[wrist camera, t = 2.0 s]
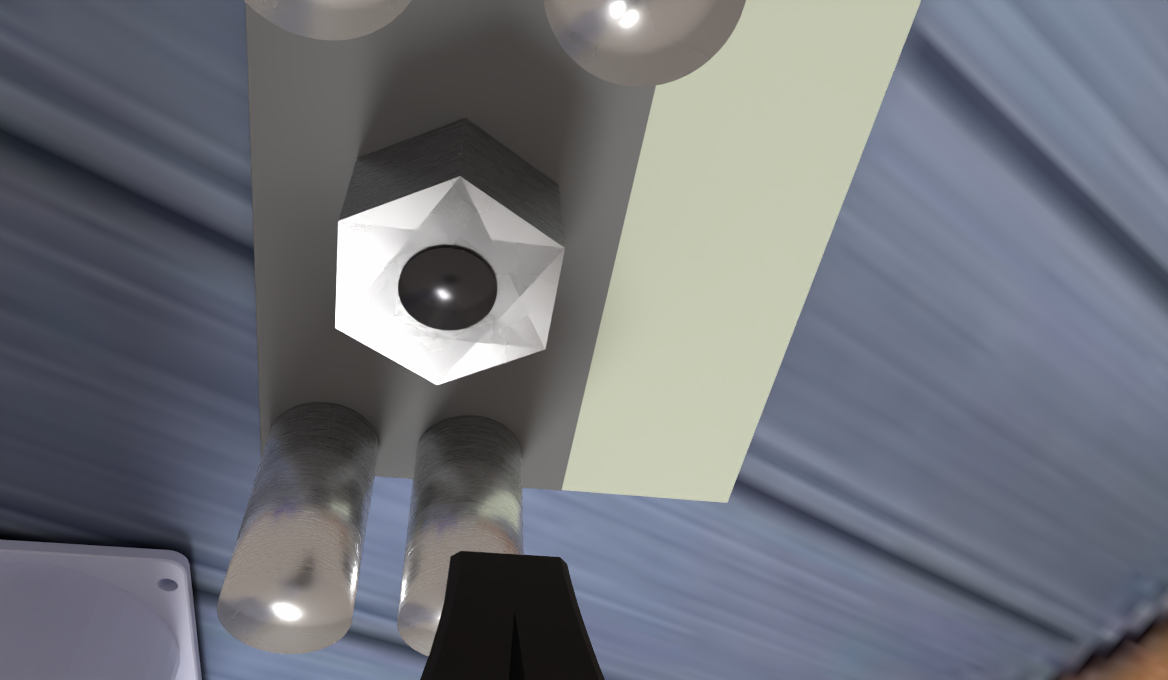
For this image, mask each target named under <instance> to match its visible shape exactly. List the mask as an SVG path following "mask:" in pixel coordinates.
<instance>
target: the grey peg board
mask: <svg viewBox="0 0 1168 680" xmlns="http://www.w3.org/2000/svg"><path fill="white" fill-rule="evenodd" d="M244 1H245V2H246V3H247V4H248V5H249V6H250V7H251V8H252V9H253V10H255V11H256V12H257V13H258V14H260V15H261V16H262V17H264V18H265V19H267V20H268V21H270V22H272V23H273V24H275V25H276V26H279V27H281V28H283V29H285V30H287V31H289V32H292V33H295V34H298V35H301V36H304V37H309V38H313V39H319V40H347V39H353V38H358V37H361V36H364V35H367V34H370V33H372V32H375V31H377V30H379V29H381V28H383V27H384V26H386V25H387V24H388V23H390V22H391V21H393V20H394V19H395V18H396V17H397V16H398V15H399V14H401V13H402V12H403V10H404V9H405V8H406V7H407V6H408V4H409V3H410V2H411V0H244ZM745 2H746V0H544V5H545V11H546V14H547V18H548V21H549V24H550V26H551V28H552V31H553V33H554V35H555V37H556V39H557V40H558V42H559V43H560V45H561V47H562V48H563V49H564V50H565V52H566V53H567V54H568V55H569V56H570V57H571V58H572V59H573V60H574V61H575V62H576V63H577V64H578V65H579V66H581V67H582V68H583V69H585V70H586V71H588V72H589V73H591V74H593V75H595V76H596V77H598V78H600V79H603V80H605V81H608V82H611V83H614V84H619V85H624V86H633V87H648V86H656V85H661V84H665V83H669V82H672V81H675V80H678V79H680V78H682V77H684V76H687V75H689V74H690V73H692V72H694V71H695V70H697V69H699V68H700V67H701V66H703V65H704V64H705V63H706V62H708V61H709V60H710V59H711V58H712V57H713V56H714V55H715V54H716V53H717V52H718V51H719V50H720V49H721V48H722V47H723V45H724V44H725V43H726V42H727V40H728V39H729V37H730V36H731V34H732V32H733V31H734V29H735V27H736V25H737V23H738V21H739V19H740V17H741V14H742V11H743V8H744V5H745ZM378 452H379V439H378V436H377V433H376V431H375V429H374V427H373V426H372V425H371V423H370V422H369V421H368V420H367V419H366V418H365V417H363V416H362V415H361V414H359V413H358V412H356V411H354V410H352V409H350V408H348V407H345V406H342V405H339V404H335V403H329V402H309V403H303V404H299V405H296V406H294V407H291V408H289V409H287V410H286V411H284V412H283V413H282V414H280V415H279V416H278V417H277V418H276V420H275V421H274V422H273V424H272V426H271V429H270V432H269V436H268V439H267V442H266V445H265V449H264V452H263V455H262V459H261V462H260V465H259V468H258V472H257V475H256V478H255V482H254V485H253V488H252V492H251V495H250V498H249V501H248V505H247V508H246V511H245V515H244V518H243V521H242V524H241V528H240V531H239V534H238V538H237V541H236V544H235V548H234V551H233V554H232V557H231V561H230V564H229V567H228V571H227V574H226V577H225V580H224V584H223V587H222V590H221V594H220V597H219V600H218V604H217V614H218V617H219V620H220V622H221V624H222V625H223V627H224V628H225V629H226V630H227V631H228V632H229V633H230V634H231V635H232V636H233V637H235V638H236V639H238V640H239V641H241V642H243V643H245V644H247V645H249V646H252V647H254V648H257V649H260V650H264V651H268V652H274V653H283V654H298V653H307V652H313V651H317V650H320V649H323V648H326V647H328V646H330V645H332V644H334V643H335V642H337V641H338V640H340V639H341V638H342V637H343V636H344V635H345V634H346V633H347V631H348V629H349V628H350V625H351V621H352V615H353V609H354V602H355V596H356V590H357V584H358V577H359V571H360V565H361V558H362V552H363V546H364V540H365V533H366V527H367V521H368V514H369V508H370V502H371V496H372V489H373V483H374V477H375V470H376V464H377V458H378ZM460 551H473V552H488V553H503V554H518V555H524V551H523V503H522V456H521V447H520V443H519V441H518V439H517V438H516V436H515V435H514V433H513V432H512V431H511V430H510V429H508V428H507V427H506V426H504V425H503V424H501V423H499V422H497V421H495V420H493V419H490V418H486V417H482V416H476V415H461V416H455V417H450V418H447V419H444V420H442V421H439V422H438V423H436V424H434V425H433V426H431V427H430V428H429V429H428V430H426V431H425V433H424V434H423V435H422V436H421V438H420V440H419V442H418V445H417V449H416V458H415V467H414V476H413V484H412V493H411V502H410V511H409V520H408V529H407V538H406V547H405V556H404V565H403V574H402V583H401V592H400V601H399V610H398V619H397V626H398V631H399V633H400V635H401V637H402V638H403V640H404V641H405V642H406V643H407V644H408V645H409V646H410V647H412V648H413V649H414V650H416V651H418V652H420V653H422V654H424V655H426V656H429V654H430V651H431V647H432V644H433V641H434V637H435V634H436V631H437V627H438V624H439V620H440V616H441V612H442V608H443V604H444V599H445V592H446V585H447V578H448V571H449V564H450V557H451V556H452V555H454V554H456V553H458V552H460Z"/></svg>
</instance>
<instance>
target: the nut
mask: <svg viewBox="0 0 1168 680" xmlns="http://www.w3.org/2000/svg"><path fill="white" fill-rule="evenodd" d="M564 251H565V243H564V233H563V223H562V214H561V204H560V194H559V185H558V184H557V183H556V182H554V181H553V180H551V179H550V178H549V177H547V176H546V175H544V174H543V173H542V172H540V171H539V170H538V169H536V168H535V167H533V166H532V165H531V164H529V163H528V162H527V161H525V160H524V159H522V158H521V157H520V156H518V155H517V154H515V153H514V152H513V151H511V150H510V149H509V148H507V147H506V146H504V145H503V144H502V143H500V142H499V141H498V140H496V139H495V138H493V137H492V136H491V135H489V134H488V133H486V132H485V131H484V130H482V129H481V128H480V127H478V126H477V125H475V124H474V123H473V122H471V121H470V120H469V119H467V118H466V117H465V118H462V119H459V120H457V121H454V122H452V123H449V124H446V125H444V126H441V127H438V128H436V129H433V130H430V131H428V132H425V133H422V134H420V135H417V136H414V137H412V138H409V139H406V140H404V141H401V142H398V143H396V144H393V145H390V146H388V147H385V148H382V149H380V150H377V151H374V152H372V153H369V154H366V155H364V156H361V157H358V158H357V159H356V162H355V166H354V169H353V173H352V176H351V179H350V183H349V186H348V190H347V193H346V196H345V200H344V203H343V206H342V210H341V213H340V217H339V220H338V248H337V285H336V323H335V328H336V329H338V330H340V331H342V332H344V333H345V334H347V335H349V336H351V337H352V338H354V339H356V340H358V341H360V342H361V343H363V344H365V345H367V346H368V347H370V348H372V349H374V350H376V351H377V352H379V353H381V354H383V355H384V356H386V357H388V358H390V359H392V360H393V361H395V362H397V363H399V364H400V365H402V366H404V367H406V368H408V369H409V370H411V371H413V372H415V373H416V374H418V375H420V376H422V377H424V378H425V379H427V380H429V381H431V382H432V383H434V384H436V385H439V384H442V383H445V382H448V381H451V380H454V379H457V378H460V377H463V376H466V375H469V374H472V373H475V372H478V371H481V370H484V369H487V368H490V367H493V366H497V365H500V364H503V363H506V362H509V361H512V360H515V359H518V358H521V357H524V356H527V355H530V354H533V353H536V352H539V351H542V350H545V349H546V344H547V338H548V333H549V328H550V323H551V318H552V313H553V308H554V302H555V297H556V292H557V287H558V282H559V277H560V272H561V266H562V261H563V256H564Z"/></svg>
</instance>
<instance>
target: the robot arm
mask: <svg viewBox="0 0 1168 680" xmlns="http://www.w3.org/2000/svg"><path fill="white" fill-rule="evenodd" d="M0 680H202V677H201V668H200V658H199V649H198V640H197V630H196V621H195V611H194V602H193V593H192V583H191V574H190V565H189V562H188V559H187V558H186V557H185V556H184V555H182V554H181V553H179V552H176V551H172V550H161V549H145V548H129V547H113V546H97V545H81V544H65V543H49V542H33V541H17V540H1V539H0ZM420 680H605V679H604V677H603V674H602V672H601V669H600V667H599V664H598V661H597V659H596V656H595V653H594V650H593V648H592V645H591V642H590V639H589V637H588V634H587V631H586V628H585V625H584V622H583V619H582V616H581V613H580V610H579V606H578V603H577V600H576V597H575V593H574V589H573V586H572V582H571V579H570V575H569V571H568V566H567V564H566V563H565V562H564V561H563V560H562V559H561V558H560V557H549V556H534V555H518V554H503V553H488V552H473V551H460V552H458V553H456V554H454V555H452V556H451V557H450V564H449V571H448V578H447V585H446V592H445V599H444V604H443V608H442V612H441V616H440V620H439V624H438V627H437V631H436V634H435V637H434V641H433V644H432V647H431V651H430V654H429V657H428V660H427V663H426V665H425V668H424V671H423V674H422V676H421V679H420Z"/></svg>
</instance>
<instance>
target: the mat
mask: <svg viewBox="0 0 1168 680" xmlns="http://www.w3.org/2000/svg"><path fill="white" fill-rule="evenodd" d="M920 2H921V0H746V2H745V5H744V8H743V11H742V14H741V17H740V19H739V21H738V23H737V25H736V27H735V29H734V31H733V32H732V34H731V36H730V37H729V39H728V40H727V42H726V43H725V44H724V45H723V47H722V48H721V49H720V50H719V51H718V52H717V53H716V54H715V55H714V56H713V57H712V58H711V59H710V60H709V61H708V62H706V63H705V64H704V65H703V66H701V67H700V68H699V69H697V70H695V71H694V72H692V73H690V74H689V75H687V76H684V77H682V78H680V79H678V80H675V81H672V82H669V83H665V84H661V85H656V86H648V87H633V86H624V85H619V84H614V83H611V82H608V81H605V80H603V79H600V78H598V77H596V76H595V75H593V74H591V73H589V72H588V71H586V70H585V69H583V68H582V67H581V66H579V65H578V64H577V63H576V62H575V61H574V60H573V59H572V58H571V57H570V56H569V55H568V54H567V53H566V52H565V50H564V49H563V48H562V47H561V45H560V43H559V42H558V40H557V39H556V37H555V35H554V33H553V31H552V28H551V26H550V24H549V21H548V18H547V14H546V11H545V5H544V0H411V2H410V3H409V4H408V6H407V7H406V8H405V9H404V10H403V12H402V13H401V14H399V15H398V16H397V17H396V18H395V19H394V20H393V21H391V22H390V23H388V24H387V25H386V26H384V27H383V28H381V29H379V30H377V31H375V32H372V33H370V34H367V35H364V36H361V37H358V38H353V39H347V40H319V39H313V38H309V37H304V36H301V35H298V34H295V33H292V32H289V31H287V30H285V29H283V28H281V27H279V26H276V25H275V24H273V23H272V22H270V21H268V20H267V19H265V18H264V17H262V16H261V15H260V14H258V13H257V12H256V11H255V10H253V9H252V8H251V7H250V6H249V5H248V4H247V3H246V2H245V3H246V31H247V60H248V89H249V118H250V147H251V176H252V205H253V234H254V262H255V291H256V320H257V349H258V378H259V407H260V436H261V459H262V455H263V452H264V449H265V445H266V442H267V439H268V436H269V432H270V429H271V426H272V424H273V422H274V421H275V420H276V418H277V417H278V416H279V415H280V414H282V413H283V412H284V411H286V410H287V409H289V408H291V407H294V406H296V405H299V404H303V403H309V402H329V403H335V404H339V405H342V406H345V407H348V408H350V409H352V410H354V411H356V412H358V413H359V414H361V415H362V416H363V417H365V418H366V419H367V420H368V421H369V422H370V423H371V425H372V426H373V427H374V429H375V431H376V433H377V436H378V439H379V452H378V458H377V464H376V470H375V476H382V477H395V478H407V479H413V476H414V467H415V458H416V449H417V445H418V442H419V440H420V438H421V436H422V435H423V434H424V433H425V431H426V430H428V429H429V428H430V427H431V426H433V425H434V424H436V423H438V422H439V421H442V420H444V419H447V418H450V417H455V416H461V415H476V416H482V417H486V418H490V419H493V420H495V421H497V422H499V423H501V424H503V425H504V426H506V427H507V428H508V429H510V430H511V431H512V432H513V433H514V435H515V436H516V438H517V439H518V441H519V443H520V447H521V456H522V487H524V488H537V489H550V490H570V491H583V492H596V493H609V494H622V495H634V496H647V497H660V498H673V499H686V500H699V501H712V502H725V503H727V502H728V499H729V497H730V494H731V491H732V489H733V486H734V484H735V481H736V479H737V476H738V473H739V471H740V468H741V466H742V463H743V460H744V458H745V455H746V453H747V450H748V447H749V445H750V442H751V440H752V437H753V434H754V432H755V429H756V427H757V424H758V422H759V419H760V416H761V414H762V411H763V409H764V406H765V403H766V401H767V398H768V396H769V393H770V390H771V388H772V385H773V383H774V380H775V377H776V375H777V372H778V370H779V367H780V365H781V362H782V359H783V357H784V354H785V352H786V349H787V346H788V344H789V341H790V339H791V336H792V333H793V331H794V328H795V326H796V323H797V320H798V318H799V315H800V313H801V310H802V308H803V305H804V302H805V300H806V297H807V295H808V292H809V289H810V287H811V284H812V282H813V279H814V276H815V274H816V271H817V269H818V266H819V263H820V261H821V258H822V256H823V253H824V250H825V248H826V245H827V243H828V240H829V238H830V235H831V232H832V230H833V227H834V225H835V222H836V219H837V217H838V214H839V212H840V209H841V206H842V204H843V201H844V199H845V196H846V193H847V191H848V188H849V186H850V183H851V181H852V178H853V175H854V173H855V170H856V168H857V165H858V162H859V160H860V157H861V155H862V152H863V149H864V147H865V144H866V142H867V139H868V136H869V134H870V131H871V129H872V126H873V124H874V121H875V118H876V116H877V113H878V111H879V108H880V105H881V103H882V100H883V98H884V95H885V92H886V90H887V87H888V85H889V82H890V79H891V77H892V74H893V72H894V69H895V67H896V64H897V61H898V59H899V56H900V54H901V51H902V48H903V46H904V43H905V41H906V38H907V35H908V33H909V30H910V28H911V25H912V22H913V20H914V17H915V15H916V12H917V10H918V7H919V4H920ZM465 117H466V118H467V119H469V120H470V121H471V122H473V123H474V124H475V125H477V126H478V127H480V128H481V129H482V130H484V131H485V132H486V133H488V134H489V135H491V136H492V137H493V138H495V139H496V140H498V141H499V142H500V143H502V144H503V145H504V146H506V147H507V148H509V149H510V150H511V151H513V152H514V153H515V154H517V155H518V156H520V157H521V158H522V159H524V160H525V161H527V162H528V163H529V164H531V165H532V166H533V167H535V168H536V169H538V170H539V171H540V172H542V173H543V174H544V175H546V176H547V177H549V178H550V179H551V180H553V181H554V182H556V183H557V184H558V185H559V194H560V204H561V214H562V223H563V233H564V243H565V251H564V256H563V261H562V266H561V272H560V277H559V282H558V287H557V292H556V297H555V302H554V308H553V313H552V318H551V323H550V328H549V333H548V338H547V344H546V349H545V350H542V351H539V352H536V353H533V354H530V355H527V356H524V357H521V358H518V359H515V360H512V361H509V362H506V363H503V364H500V365H497V366H493V367H490V368H487V369H484V370H481V371H478V372H475V373H472V374H469V375H466V376H463V377H460V378H457V379H454V380H451V381H448V382H445V383H442V384H439V385H436V384H434V383H432V382H431V381H429V380H427V379H425V378H424V377H422V376H420V375H418V374H416V373H415V372H413V371H411V370H409V369H408V368H406V367H404V366H402V365H400V364H399V363H397V362H395V361H393V360H392V359H390V358H388V357H386V356H384V355H383V354H381V353H379V352H377V351H376V350H374V349H372V348H370V347H368V346H367V345H365V344H363V343H361V342H360V341H358V340H356V339H354V338H352V337H351V336H349V335H347V334H345V333H344V332H342V331H340V330H338V329H336V328H335V323H336V285H337V248H338V220H339V217H340V213H341V210H342V206H343V203H344V200H345V196H346V193H347V190H348V186H349V183H350V179H351V176H352V173H353V169H354V166H355V162H356V159H357V158H358V157H361V156H364V155H366V154H369V153H372V152H374V151H377V150H380V149H382V148H385V147H388V146H390V145H393V144H396V143H398V142H401V141H404V140H406V139H409V138H412V137H414V136H417V135H420V134H422V133H425V132H428V131H430V130H433V129H436V128H438V127H441V126H444V125H446V124H449V123H452V122H454V121H457V120H459V119H462V118H465Z"/></svg>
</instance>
